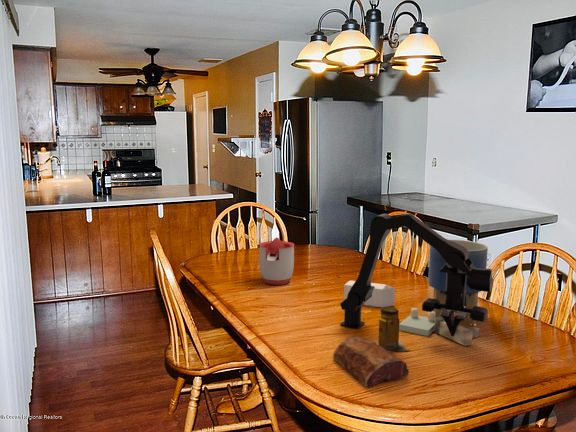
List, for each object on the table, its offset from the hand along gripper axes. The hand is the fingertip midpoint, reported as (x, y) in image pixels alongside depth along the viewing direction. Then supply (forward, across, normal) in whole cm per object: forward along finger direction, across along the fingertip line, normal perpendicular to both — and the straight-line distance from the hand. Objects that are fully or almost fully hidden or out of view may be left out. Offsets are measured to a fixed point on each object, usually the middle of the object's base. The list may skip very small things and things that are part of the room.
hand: (452, 335), depth 160 cm
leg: (+2, +1, -4) cm, 5 cm away
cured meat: (+3, +16, +27) cm, 32 cm away
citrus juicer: (+3, +84, -27) cm, 89 cm away
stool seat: (+3, +13, -8) cm, 16 cm away
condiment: (+3, +15, +13) cm, 20 cm away
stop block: (+3, -3, -10) cm, 11 cm away
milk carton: (-1, +47, -21) cm, 52 cm away
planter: (+3, +6, -25) cm, 26 cm away
